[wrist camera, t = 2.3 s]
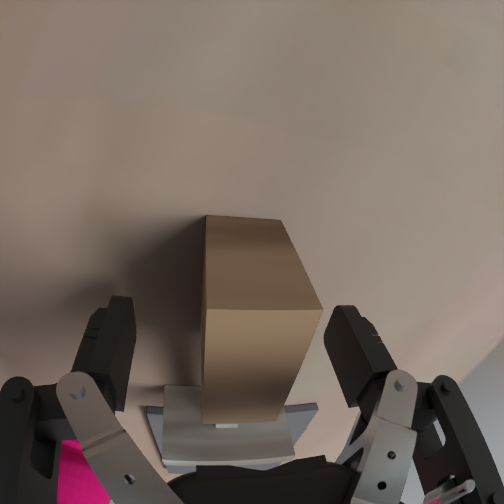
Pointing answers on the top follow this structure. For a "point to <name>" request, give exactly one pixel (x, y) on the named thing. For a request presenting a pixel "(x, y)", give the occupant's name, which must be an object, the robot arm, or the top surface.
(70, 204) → the top surface
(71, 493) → the pepper mill
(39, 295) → the top surface
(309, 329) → the wood and metal piece
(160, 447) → the mat
